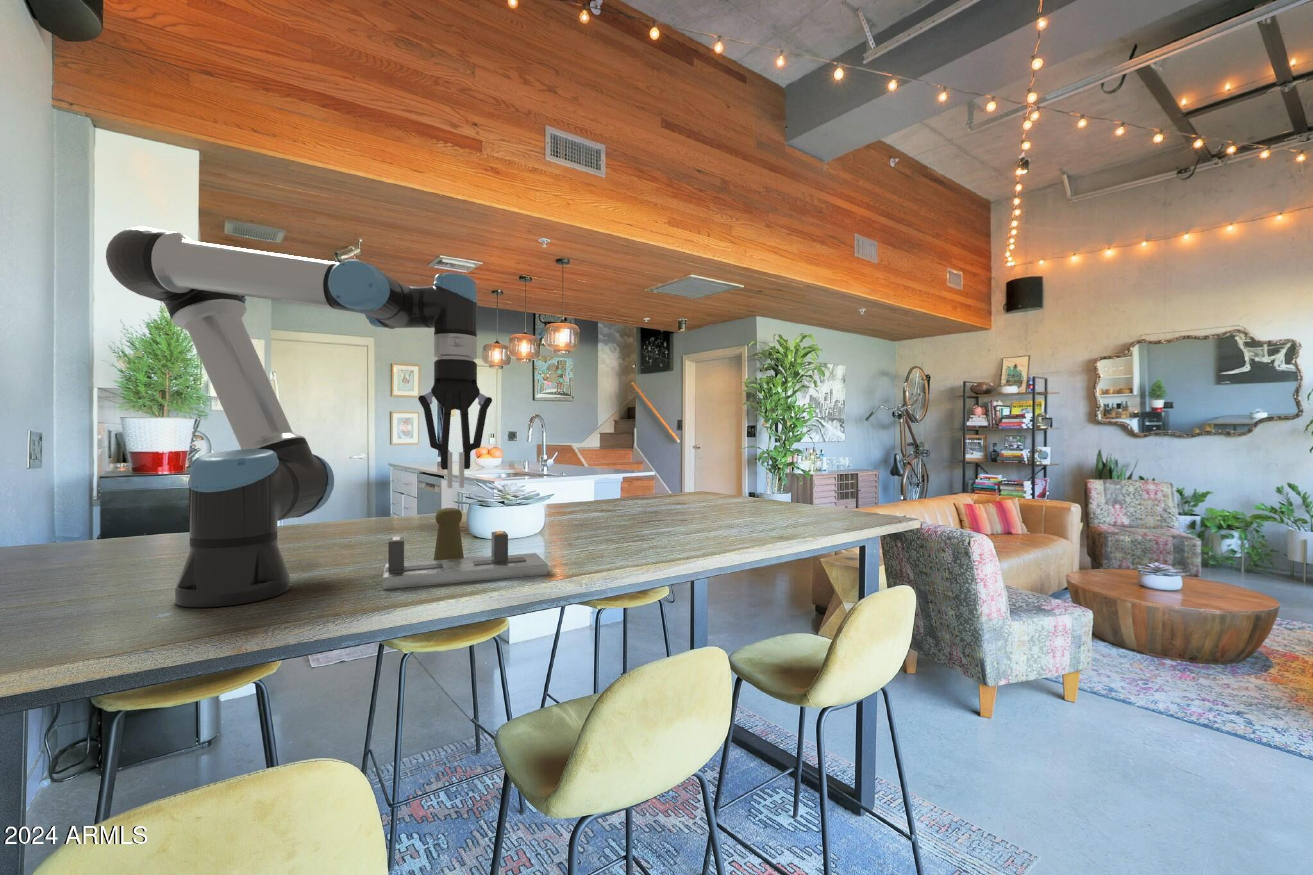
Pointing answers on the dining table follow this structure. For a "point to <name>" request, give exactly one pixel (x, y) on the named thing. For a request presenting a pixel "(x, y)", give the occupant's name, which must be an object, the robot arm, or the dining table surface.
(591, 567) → the dining table surface
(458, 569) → the panel
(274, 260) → the robot arm
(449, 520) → the cork
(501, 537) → the block
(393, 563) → the block
